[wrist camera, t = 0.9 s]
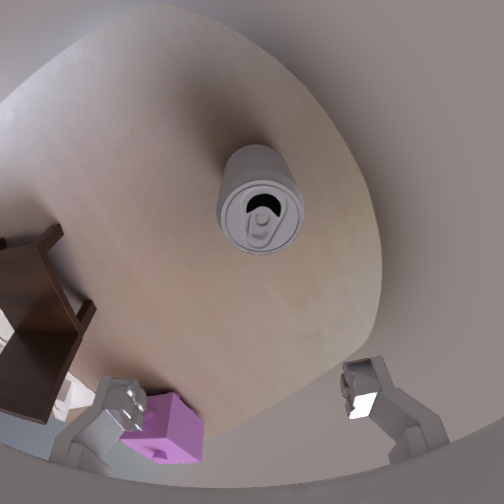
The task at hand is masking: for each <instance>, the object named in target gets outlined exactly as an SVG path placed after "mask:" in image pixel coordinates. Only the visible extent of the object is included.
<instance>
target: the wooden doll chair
mask: <svg viewBox="0 0 504 504" xmlns="http://www.w3.org/2000/svg"><path fill="white" fill-rule="evenodd" d="M63 235H64V233H63V231H62V228H61V225H60V224H56V225H52V226H50V227H49V228H48V229H47V230H46V231H45V232H44V233H43V234H42V235H41V236H40V237H39V238H38V239H37V240H36V241H35V242H34V243H33V244H28V245H23V246H19V247H14V248H9V249H5V248H6V247H7V246H6V243H5V241H4V238H3V237H2V238H0V308H1V310H2V312H3V313H4V315H5V317H6V318H7V320H8V322H9V323H10V325H11V326H12V328H13V329H14V331H15V332H14V333H13V334H12V336H11V338H10V339H9V341H8V342H7V344H6V345H5V347H4V349H3V350H2V352H1V354H0V412H3V413H6V414H9V415H12V416H15V417H19V418H22V419H25V420H29V421H32V422H36V423H40V424H43V425H46V424H47V421H48V419H49V416H50V414H51V411H52V408H53V406H54V403H55V401H56V398H57V396H58V393H59V391H60V389H61V386H62V384H63V381H64V379H65V377H66V375H67V372H68V370H69V368H70V366H71V363H72V361H73V359H74V357H75V355H76V352H77V350H78V348H79V346H80V344H81V342H82V340H83V339H82V337H83V335H84V333H85V331H86V329H87V327H88V325H89V323H90V322H91V320H92V318H93V316H94V314H95V312H96V310H97V309H96V307H95V305H94V303H93V301H89V302H84V303H83V305H82V306H81V308H80V310H79V312H78V313H77V315H75V313H74V311H73V309H72V307H71V306H70V304H69V302H68V300H67V298H66V296H65V294H64V292H63V290H62V288H61V286H60V284H59V281H58V279H57V277H56V275H55V273H54V271H53V268H52V266H51V264H50V262H49V259H48V257H47V255H46V253H47V252H48V251H49V250H50V249H51V247H52V246H53V245H54V244H55V243H56V242H57V241H58V240H59V239H60V238H61V237H62V236H63Z"/></svg>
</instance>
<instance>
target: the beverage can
mask: <svg viewBox="0 0 504 504" xmlns="http://www.w3.org/2000/svg"><path fill="white" fill-rule="evenodd" d="M304 215H305V203H304V199H303V196H302V194H301V192H300V190H299V188H298V186H297V184H296V182H295V180H294V178H293V177H292V175H291V173H290V171H289V169H288V167H287V165H286V164H285V162H284V160H283V158H282V157H281V156H280V155H279V154H278V153H277V152H276V151H275V150H273V149H272V148H270V147H267V146H265V145H259V144H253V145H247V146H244V147H242V148H240V149H238V150H237V151H235V152H234V153H233V154H232V155H231V156H230V158H229V159H228V161H227V163H226V166H225V170H224V174H223V179H222V184H221V188H220V193H219V198H218V203H217V219H218V223H219V225H220V228H221V229H222V231H223V233H224V234H225V236H226V237H227V239H228V240H229V241H230V242H231V244H233V245H234V246H235V247H236V248H238V249H239V250H241V251H243V252H246V253H249V254H254V255H268V254H273V253H276V252H278V251H281V250H283V249H284V248H286V247H287V246H289V245H290V244H291V243H292V242H293V241H294V240H295V238H296V237H297V235H298V234H299V232H300V229H301V227H302V223H303V220H304Z"/></svg>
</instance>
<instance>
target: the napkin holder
mask: <svg viewBox="0 0 504 504" xmlns="http://www.w3.org/2000/svg"><path fill="white" fill-rule="evenodd" d="M95 395H96V394H95V393H94V392H92V391H91V390H90V389H89V388H87V387H86V386H85V385H84V384H83V383H81V382H80V381H79V380H78V379H77V378H75V377H74V376H73V375H72V374H71V373H69V372H67V375H66V377H65V379H64V381H63V384H62V386H61V389H60V391H59V393H58V396H57V398H56V401H55V403H54V406H53V411H54V414H55V417H56V418H57V419H59V420H61V421H64V422H65V420H66V417H67V414H68V411H69V408H70V409H73V408H79V407H84V406H89V405H92V404H93V401H94V398H95Z"/></svg>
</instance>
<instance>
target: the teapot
mask: <svg viewBox="0 0 504 504" xmlns="http://www.w3.org/2000/svg"><path fill="white" fill-rule="evenodd" d="M179 398H180V395H179V394H177V393H175V392H168V393H167V394H162V395H155V396H147V408H146V410H145V411H144V412H143V413H142V415H143V417H144V423H143V428H142V431H128V430H124V432H123V434H122V435H121V436H120V437H119V439H120V440H121V441H123V442H124V443H126V444H127V445H128V446H130V447H131V448H133V449H134V450H136V451H137V452H139V453H140V454H142V455H143V456H145V457H147V458H148V459H150V460H152V461H153V462H155V463H156V464H177V463H178V464H182V463H199V462H201V461H202V447H203V432H204V422H203V421H202V420H200V419H199V418H198V417H197V416H196V415H195V410H193V409H190V408H188V407H187V406H186V405H185V404H184V403H183V402H182V401H181V400H180V399H179Z"/></svg>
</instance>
